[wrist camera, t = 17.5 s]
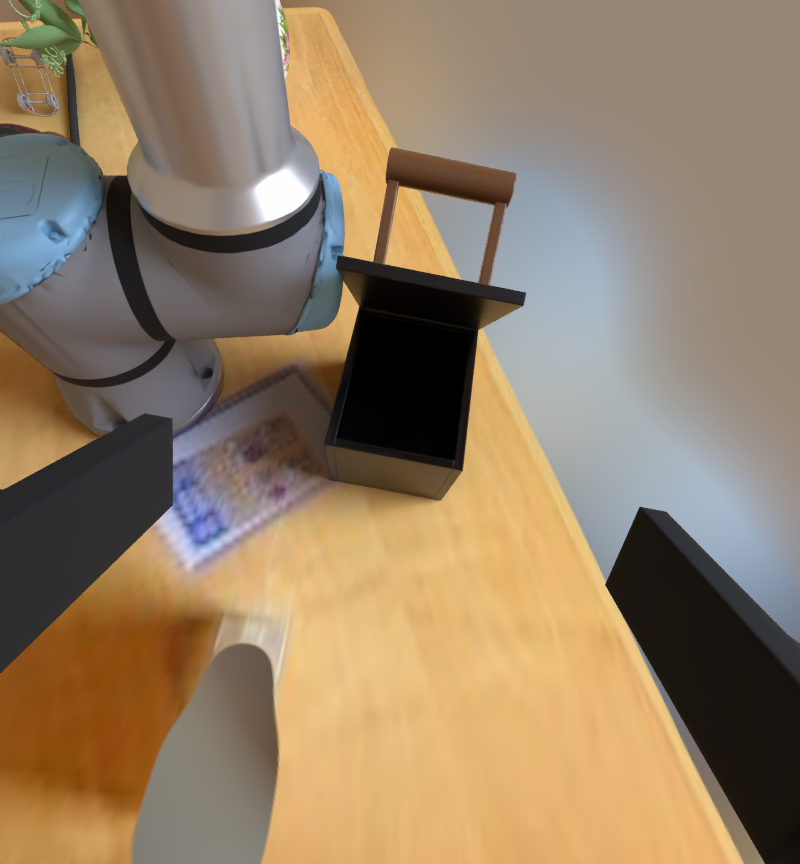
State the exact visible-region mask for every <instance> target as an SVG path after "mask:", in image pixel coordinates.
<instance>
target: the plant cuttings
mask: <svg viewBox="0 0 800 864" xmlns="http://www.w3.org/2000/svg"><path fill="white" fill-rule="evenodd" d="M9 2H10V0H9ZM19 2H20V3H21V4H22V5H23V6H24V7H25V8H26V9H27V10H28V11H29V12H30V13H31V14H33V15H32V17H29V16H25V15H23V14H21V13H19V12H18V11H17V10H16V9H15V8H14V7H13V5H12V3H11V2H10V4H11V6H12V7H13V9H14V10H15V11H16V12H17V13H19V14H20V15H22V16H24V17H27V18H31V23H34V22H35V20H36V18H37V19H39V20H40V21H42V22H43V23H44V24H45V25H42V26H37V27H34V28H32V29H30V28H29V26H28V25H27V23H26V21H25V19H24V18H22V19H21V22H23V23H24V24H23V23H22V24H23V26H24V25H25V26H24V28H25V27H26V28H25V29H26V32H25V33H23V34H22V35H20V36H19V37H10V38H5V39H3V41H2V42H0V54H1V56H2V59H3V61H4V62H5V63H6V64H7V65H8V64H14V62H15V63H16V65H17V62H16V60H15V58H32V59H33V60H34V61H35V62H36V64H37V66H38V64H39V65H42V66H43V65H44V64H45V63H47V64H50V66H49V70H50V71H51V72H53V71H54V76H55V77H59V76H60V74H63V73H64V70H63V68H61V67H60V64H62V63H64V65H66V64H65V63H66V61H67V60H66V57H65V56H66V55H69V54H71V53H72V52H74V51H75V50H76V49H77V48H78V47H79V46H80V44H81V43H82V42H84V43H88V42H85V41H83V39H82V36H81V33H80V31H79V29H78V28H77V26H76V25H75V23H74V22H73V21H72V19H71V18H70V17H69V16H68V15H67V14H66V13H65V12H64V11H63V10H61V9H60V8H59V7H58V6H57V5H55V4H54V3H53V2H51V1H50V0H19ZM65 5H66V8H67V10H68V11H70V12H72V13H75V14H77V15H80V16H82V17H81V19H82V26H83V33H85V27H86V23H87V24H88V22H87V20H86V18H85V15H84V13H83V11H82V8H81V6H80V4H79V1H78V0H65ZM33 18H34V20H33ZM23 19H24V20H23ZM24 21H25V22H24ZM88 29H89V33H90V35H89V33H86V34H87V35H88V36H89V37H90V36H91V37H90V40H91V41H92V42H93V43H94V44H95V45H96V46H97V47H96V46H94V47H96V48H98V45H97V43H96V41H95V38H94V36H93V34H92V31H91V29H90V27H89V25H88ZM27 30H28V31H27ZM13 38H14V40H12V41H11V42H9V40H8V39H13ZM6 39H7V40H8V42H4V40H6ZM89 45H90V44H89ZM3 46H5V47H10V49H11V46H13V47H18V48H24V49H32V54H31V56H25V55H14V54H13V51H12V49H11V52H10V51H9V50H8V49H1V47H2V48H3ZM91 46H93V45H91ZM33 49H35V50H33ZM98 49H99V48H98ZM42 53H43V54H45V55H42ZM45 56H46V57H49V58H48V59H49V60H50V61H51V62H50V61H48V60H47V58H46V57H45ZM52 57H55V59H54V58H52ZM56 57H59V58H60V61H58V60H57V59H56ZM61 57H62V58H63V59H62V60H61ZM50 58H51V59H52V60H53V61H52V60H51V59H50ZM14 60H15V61H14ZM54 60H55V61H56V62H55V61H54ZM45 61H46V62H45ZM51 65H54V66H53V67H52V66H51ZM8 66H9V67H11V70H12V67H17V68H18V67H31V68H38V69H39V68H44V69H45V67H44V66H43V67H39V66H38V67H36V66H18V65H17V66H10V65H8ZM58 66H59V67H58ZM50 68H52V69H53V70H51V69H50ZM60 68H61V69H62V71H63V72H62V73H61V72H60V71H58V70H59V69H60ZM18 71H19V68H18ZM55 71H58V73H59V75H58V76H56V75H55ZM12 72H13V70H12ZM39 72H40V69H39ZM45 72H46V69H45ZM19 74H20V71H19ZM13 75H14V72H13ZM40 75H41V72H40ZM46 75H47V72H46ZM20 76H21V74H20ZM14 77H15V75H14ZM41 78H42V75H41ZM47 78H48V75H47ZM21 79H22V76H21ZM15 80H16V77H15ZM42 81H43V78H42ZM48 81H49V78H48ZM16 82H17V80H16ZM22 82H23V79H22ZM43 84H44V81H43ZM17 85H18V82H17ZM23 85H24V82H23ZM49 85H50V81H49ZM18 88H19V90H20V87H19V85H18ZM24 88H25V90H26V87H25V85H24ZM44 88H45V91H46V93H27V90H26V93H21V90H20V93H17V100H18V103H19V105H20V107H21V108H22V109H23V110H25V109H27V110H25V111H30V110H28V109H29V108H30V107H31V108H32V110H33V107H32V104H31V103H47V104H48V105H49V106H50V107H51V109H52V108H53V109H56V111H55V112H53V109H52V112H53V113H52V114H49V115H40V116H50V115H53V114H55V113H56V112H57V111H58V110H57V109H59V104H58V101H57V99H56V97H55V96H54V95H52V94H53V91H52V88H51V85H50V88H51V91H52V93H47V90H46V87H45V84H44ZM18 94H27V98H26V96H25V95H18ZM28 94H47V99H46V101H30V99H29V96H28ZM48 94H50V95H48ZM30 105H31V106H30ZM30 112H31V111H30ZM31 113H33V114H36V113H34V110H33V112H31ZM36 115H39V114H36Z"/></svg>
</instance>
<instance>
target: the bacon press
mask: <svg viewBox="0 0 800 864" xmlns="http://www.w3.org/2000/svg"><path fill="white" fill-rule="evenodd" d="M386 183H387V188H386V194H385V199H384V205H383V211H382V216H381V222H380V228H379V233H378V239H377V245H376V250H375V256H374V262H370V261H365V260H360V259H355V258H350V257H345V256H340V255H338V257H337V263H336V269H337V271H338V272H339V274H340V276H341V277H342V279H343V281H344V282H345V284H346V285H347V287H348V289H349V290H350V292H351V294H352V295H353V297H354V298H355V300H356V302H357V303H358V305H359V306H361V307H366V308H371V309H376V310H381V311H386V312H391V313H396V314H401V315H406V316H411V317H416V318H421V319H426V320H431V321H437V322H442V323H447V324H452V325H457V326H462V327H467V328H472V329H477V330H479V329H481V328H483V327H485V326H486V325H488V324H490V323H492V322H494V321H496V320H498V319H500V318H501V317H503V316H505V315H507V314H509V313H511V312H512V311H514V310H516V309H518V308H520V307H522V306H523V305H524V301H525V297H526V293H525V292H520V291H514V290H510V289H505V288H500V287H495V286H490V281H491V276H492V272H493V266H494V262H495V257H496V253H497V248H498V243H499V238H500V234H501V229H502V224H503V220H504V215H505V210H506V208H507V207H508V205H509V203H510V201H511V198H512V195H513V191H514V187H515V183H516V173H513V172H508V171H503V170H498V169H493V168H489V167H483V166H479V165H474V164H470V163H465V162H460V161H455V160H450V159H445V158H441V157H436V156H431V155H426V154H421V153H416V152H411V151H407V150H402V149H397V148H391V149H390V152H389V157H388V162H387V170H386ZM399 186H401V187H406V188H411V189H415V190H420V191H425V192H430V193H435V194H440V195H445V196H450V197H455V198H460V199H464V200H469V201H474V202H479V203H484V204H489V205H494V209H493V214H492V219H491V224H490V228H489V233H488V238H487V243H486V247H485V252H484V258H483V262H482V267H481V271H480V276H479V281H478V283H475V282H470V281H464V280H460V279H455V278H450V277H445V276H440V275H435V274H430V273H425V272H420V271H415V270H410V269H405V268H400V267H395V266H390V265H385V260H386V254H387V249H388V243H389V237H390V232H391V226H392V221H393V215H394V210H395V204H396V199H397V193H398V188H399Z"/></svg>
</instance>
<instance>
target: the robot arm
mask: <svg viewBox="0 0 800 864" xmlns="http://www.w3.org/2000/svg"><path fill="white" fill-rule="evenodd" d="M78 1H79V4H80V6H81V8H82V11H83V13H84V15H85V18H86V20H87V22H88V25H89V27H90V29H91V31H92V34H93V36H94V38H95V41H96V43H97V45H98V48H99V50H100V52H101V55H102V57H103V59H104V62H105V64H106V66H107V68H108V71H109V73H110V75H111V78H112V80H113V82H114V85H115V87H116V89H117V92H118V94H119V96H120V99H121V101H122V103H123V105H124V108H125V110H126V112H127V115H128V117H129V119H130V122H131V124H132V126H133V129H134V131H135V133H136V136H137V138H138V140H139V141H138V143H137V144H136V146H135V147H134V149H133V151H132V153H131V155H130V157H129V161H128V165H127V176H119V175H118V176H105V175H103V173H102V170H101V168H100V167H99V165H98V163H97V162H96V161H95V160H94V159H93V158H92V157H90V156H89V155H88V154H87V153H86V152H85V151H84V150H83V149H82V148H81V147H80V140H79V130H78V118H77V104H76V88H75V78H74V68H73V61H72V55H71V54H69V55H66V56H65V57H66V60H67V61H66V63H65V64H66V76H67V89H68V109H69V122H70V135H71V142H72V143H70V142H69V141H68V140H66V139H64V138H62V137H58V136H55V135H49V134H39V133H27V134H16V135H10V136H5V137H1V138H0V331H1V332H2V333H3V334H5V335H6V336H7V337H8V338H10V339H11V340H12V341H13V342H15V343H16V344H17V345H18V346H20V347H21V348H22V349H23V350H25V351H26V352H27V353H28V354H30V355H31V356H32V357H33V358H35V359H36V360H37V361H38V362H40V363H41V364H42V365H43V366H45V367H46V368H47V369H48V370H50V371H51V372H52V374H53V376H54V378H55V380H56V383H57V385H58V387H59V390H60V392H61V394H62V397H63V399H64V401H65V403H66V405H67V407H68V408H69V410H70V411H71V413H72V414H73V415H74V416H75V418H76V419H77V420H78V421H79V422H80V423H82V424H83V425H84V426H85V427H87V428H88V429H90V430H91V431H92V432H94V433H95V434H97V435H99V436H100V438H98V439H96V440H94V441H92V442H91V443H89V444H87V445H85V446H83V447H81V448H80V449H78V450H76V451H74V452H72V453H70V454H69V455H67V456H65V457H63V458H61V459H59V460H57V461H56V462H54V463H52V464H50V465H48V466H46V467H45V468H43V469H41V470H39V471H37V472H35V473H33V474H32V475H30V476H28V477H26V478H24V479H22V480H21V481H19V482H17V483H15V484H13V485H11V486H10V487H8V488H6V489H4V490H2V489H0V673H1V672H2V671H3V670H4V669H5V668H6V667H7V666H8V665H9V664H10V663H11V662H12V661H13V660H15V659H16V658H17V657H18V656H19V655H20V654H21V653H22V652H23V651H24V650H25V649H26V648H27V647H28V646H29V645H30V644H31V643H32V642H33V641H34V640H35V639H36V638H37V637H38V636H39V635H40V634H41V633H42V632H43V631H44V630H45V629H46V628H47V627H48V626H49V625H50V624H51V623H52V622H53V621H55V620H56V619H57V618H58V617H59V616H60V615H61V614H62V613H63V612H64V611H65V610H66V609H67V608H68V607H69V606H70V605H71V604H72V603H73V602H74V601H75V600H76V599H77V598H78V597H79V596H80V595H81V594H82V593H83V592H84V591H85V590H86V589H87V588H88V587H89V586H90V585H91V584H92V583H93V582H95V581H96V580H97V579H98V578H99V577H100V576H101V575H102V574H103V573H104V572H105V571H106V570H107V569H108V568H109V567H110V566H111V565H112V564H113V563H114V562H115V561H116V560H117V559H118V558H119V557H120V556H121V555H122V554H123V553H124V552H125V551H126V550H127V549H128V548H129V547H130V546H131V545H132V544H133V543H134V542H136V541H137V540H138V539H139V538H140V537H141V536H142V535H143V534H144V533H145V532H146V531H147V530H148V529H149V528H150V527H151V526H152V525H153V524H154V523H155V522H156V521H157V520H158V519H159V518H160V517H161V516H162V515H163V514H164V513H165V512H166V511H167V510H168V509H169V508H170V507H171V506H172V505H173V437H175V436H177V435H179V434H181V433H183V432H185V431H186V430H188V429H190V428H191V427H192V426H194V425H195V424H196V423H198V422H199V421H200V420H201V419H202V418H203V417H204V416H205V415H206V414H207V413H208V412H209V411H210V409H211V408H212V407H213V405H214V404H215V402H216V400H217V398H218V396H219V394H220V392H221V389H222V385H223V380H224V366H223V361H222V357H221V355H220V353H219V350H218V348H217V346H216V344H215V342H214V341H213V339H212V338H231V337H249V336H268V335H293V334H295V333H296V332H302V331H310V330H317V329H322V328H325V327H327V326H328V325H329V324H331V323H332V322H333V320H334V319H335V317H336V315H337V313H338V310H339V307H340V302H341V296H342V288H343V279H342V277H341V276H340V274H339V272H338V271H337V269H336V263H337V257H338V255H340V256H343V250H344V237H345V232H344V211H343V201H342V195H341V190H340V185H339V182H338V180H337V178H336V177H335V176H334V175H332V174H330V173H326V172H324V171H322V170H319V163H318V158H317V155H316V153H315V151H314V149H313V147H312V145H311V144H310V142H309V141H308V140H307V139H306V138H305V137H304V136H303V135H302V134H301V133H300V132H299V131H298V130H296V129H295V128H294V127H292V126H291V125H290V117H289V109H288V101H287V93H286V85H285V77H284V69H283V61H282V53H281V44H280V36H279V28H278V20H277V12H276V4H275V0H78ZM605 585H606V587H607V589H608V591H609V592H610V594H611V596H612V598H613V599H614V601H615V603H616V605H617V606H618V608H619V610H620V612H621V613H622V615H623V617H624V619H625V620H626V622H627V624H628V625H629V627H630V629H631V631H632V632H633V634H634V636H635V638H636V639H637V641H638V643H639V645H640V646H641V648H642V650H643V652H644V653H645V655H646V656H647V659H648V660H649V662H650V664H651V666H652V667H653V669H654V671H655V673H656V674H657V676H658V678H659V680H660V681H661V683H662V685H663V687H664V688H665V690H666V692H667V693H668V695H669V697H670V699H671V700H672V702H673V704H674V706H675V707H676V709H677V711H678V713H679V714H680V716H681V718H682V720H683V721H684V723H685V725H686V726H687V728H688V730H689V732H690V734H691V735H692V737H693V739H694V741H695V742H696V744H697V746H698V747H699V749H700V751H701V753H702V755H703V756H704V758H705V760H706V761H707V763H708V765H709V767H710V768H711V770H712V772H713V773H714V775H715V777H716V779H717V781H718V782H719V784H720V786H721V788H722V789H723V791H724V793H725V795H726V796H727V798H728V800H729V801H730V803H731V805H732V807H733V809H734V810H735V812H736V814H737V815H738V817H739V819H740V821H741V822H742V824H743V826H744V828H745V829H746V831H747V833H748V835H749V836H750V838H751V840H752V842H753V843H754V845H755V847H756V849H757V850H758V852H759V854H760V855H761V857H762V859H763V861H764V863H765V864H800V643H798V642H797V641H795V640H794V639H793V638H791V637H790V636H789V635H787V634H786V633H785V632H784V631H783V630H782V629H781V628H780V627H779V626H778V624H777V623H776V622H774V621H773V620H772V618H770V617H769V615H767V614H766V612H765V611H764V610H763V609H762V608H761V607H760V606H759V605H758V604H757V603H756V602H755V601H754V600H753V599H752V598H751V597H750V596H749V595H748V594H747V593H746V592H745V591H744V590H743V589H742V588H741V587H740V586H739V585H738V584H737V583H736V582H735V581H734V580H733V579H732V578H731V577H730V576H729V575H728V574H727V573H726V572H725V571H724V570H723V569H722V568H721V567H720V566H719V565H718V564H717V563H716V562H715V561H714V560H713V559H712V558H711V557H710V556H709V555H708V554H707V553H706V552H705V551H704V550H703V549H702V548H701V547H700V546H699V545H698V544H697V542H696V541H695V540H694V539H693V538H692V537H690V536H689V534H688V533H687V532H686V531H685V530H683V528H682V527H681V526H680V525H679V524H678V523H677V522H676V521H675V520H674V519H673V518H672V517H671V516H670V515H669V514H668V513H667V512H664V511H659V510H654V509H648V508H643V507H639V510H638V512H637V514H636V517H635V519H634V521H633V523H632V526H631V528H630V530H629V532H628V535H627V537H626V539H625V541H624V544H623V546H622V548H621V550H620V553H619V555H618V557H617V559H616V562H615V564H614V566H613V568H612V571H611V573H610V575H609V577H608V580H607V582H606V584H605Z"/></svg>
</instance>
